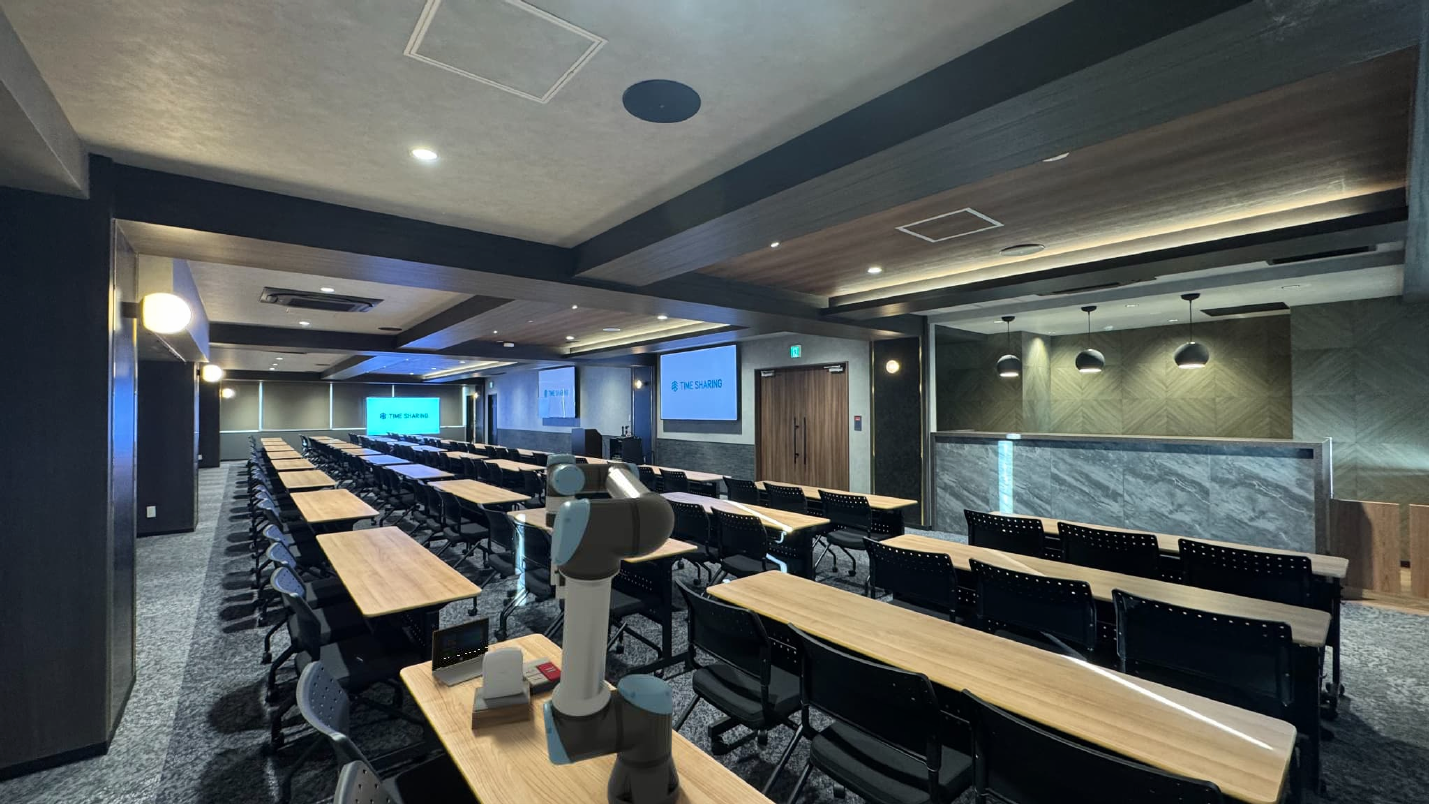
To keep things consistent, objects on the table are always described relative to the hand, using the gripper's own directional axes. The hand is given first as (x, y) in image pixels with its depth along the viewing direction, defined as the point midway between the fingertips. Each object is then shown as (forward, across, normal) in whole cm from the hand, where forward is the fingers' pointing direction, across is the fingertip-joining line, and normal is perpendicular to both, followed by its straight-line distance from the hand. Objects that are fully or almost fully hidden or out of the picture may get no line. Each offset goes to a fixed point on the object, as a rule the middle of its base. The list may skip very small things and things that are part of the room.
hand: (558, 591), depth 151 cm
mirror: (+32, +6, +13) cm, 35 cm away
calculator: (+33, +21, +3) cm, 39 cm away
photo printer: (+28, +7, +13) cm, 32 cm away
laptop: (+32, +35, +22) cm, 53 cm away
